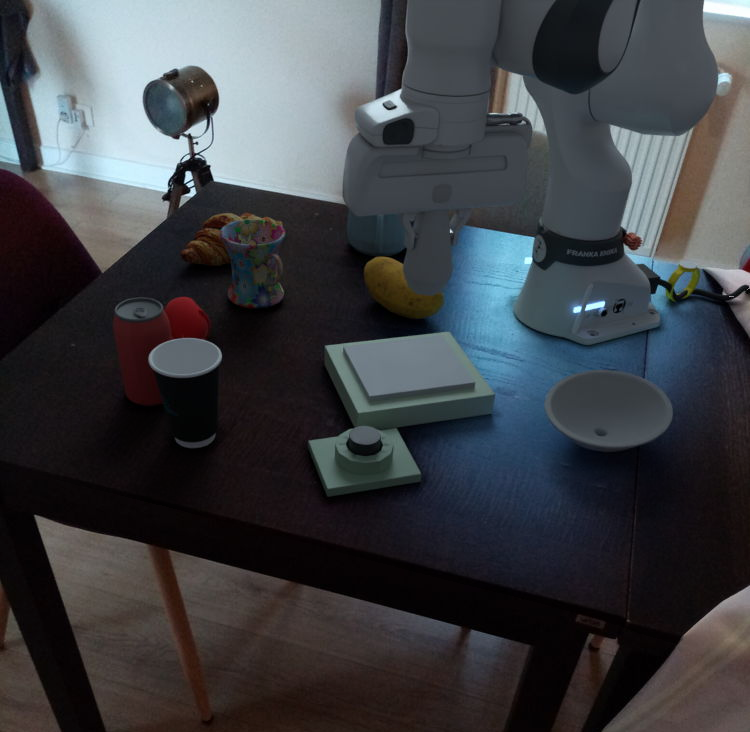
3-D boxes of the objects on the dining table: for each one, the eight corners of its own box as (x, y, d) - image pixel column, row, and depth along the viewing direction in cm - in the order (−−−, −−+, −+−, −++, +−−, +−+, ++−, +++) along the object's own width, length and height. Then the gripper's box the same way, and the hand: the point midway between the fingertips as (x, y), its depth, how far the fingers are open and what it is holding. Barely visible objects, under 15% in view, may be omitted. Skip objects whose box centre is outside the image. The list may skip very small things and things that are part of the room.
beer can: (133, 413, 96) (117, 326, 88) (120, 386, 100) (103, 300, 92) (186, 401, 98) (174, 315, 91) (170, 375, 103) (158, 291, 95)
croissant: (270, 248, 141) (254, 203, 138) (306, 238, 134) (290, 190, 131) (176, 283, 128) (156, 234, 125) (210, 274, 121) (190, 221, 118)
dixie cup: (147, 445, 91) (133, 364, 84) (183, 410, 97) (173, 331, 90) (207, 463, 90) (198, 382, 82) (240, 426, 95) (234, 347, 88)
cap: (219, 350, 108) (216, 310, 104) (177, 360, 106) (172, 320, 102) (198, 323, 113) (194, 285, 109) (158, 332, 111) (152, 293, 107)
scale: (446, 350, 111) (450, 326, 109) (492, 413, 100) (496, 389, 97) (324, 364, 107) (324, 340, 104) (357, 433, 95) (358, 407, 93)
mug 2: (410, 273, 129) (415, 213, 122) (343, 269, 129) (345, 209, 122) (408, 235, 140) (413, 179, 134) (347, 232, 140) (349, 175, 133)
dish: (616, 499, 89) (628, 465, 85) (511, 443, 95) (518, 410, 92) (683, 433, 99) (696, 400, 96) (584, 387, 106) (593, 355, 102)
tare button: (374, 435, 91) (375, 423, 90) (384, 454, 88) (385, 442, 87) (344, 440, 90) (345, 427, 89) (353, 459, 87) (354, 446, 86)
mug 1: (214, 295, 120) (207, 227, 113) (265, 280, 124) (262, 214, 117) (256, 327, 113) (252, 258, 106) (309, 310, 118) (308, 242, 111)
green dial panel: (395, 435, 95) (397, 415, 93) (420, 481, 89) (423, 461, 87) (308, 448, 93) (307, 428, 91) (327, 497, 86) (327, 476, 84)
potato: (413, 338, 113) (418, 293, 108) (352, 299, 121) (353, 255, 116) (449, 324, 117) (455, 280, 112) (387, 287, 125) (390, 244, 120)
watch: (683, 291, 129) (695, 257, 125) (696, 298, 127) (709, 264, 123) (657, 298, 127) (669, 263, 123) (670, 306, 125) (682, 271, 121)
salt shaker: (446, 302, 89) (460, 187, 81) (397, 295, 90) (406, 181, 82) (453, 280, 94) (466, 168, 85) (406, 273, 94) (415, 162, 86)
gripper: (522, 102, 84) (502, 227, 93) (339, 110, 79) (337, 241, 88) (548, 120, 80) (525, 250, 89) (357, 129, 75) (352, 266, 84)
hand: (430, 246), depth 89 cm, fingers closed on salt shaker, 3 cm apart
